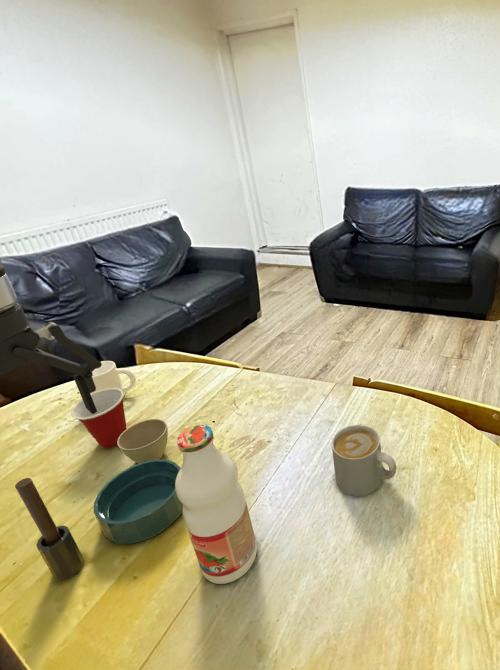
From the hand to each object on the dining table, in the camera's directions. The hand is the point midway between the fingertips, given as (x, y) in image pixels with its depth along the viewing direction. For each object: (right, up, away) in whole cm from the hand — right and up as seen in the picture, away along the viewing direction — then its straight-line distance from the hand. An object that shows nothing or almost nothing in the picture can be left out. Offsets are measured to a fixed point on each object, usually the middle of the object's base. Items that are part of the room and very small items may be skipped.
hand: (43, 433), depth 64 cm
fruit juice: (+26, -25, +9) cm, 37 cm away
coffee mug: (+49, -17, +23) cm, 57 cm away
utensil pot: (-2, -26, +8) cm, 28 cm away
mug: (-24, -7, +54) cm, 59 cm away
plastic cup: (-14, -14, +38) cm, 43 cm away
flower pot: (-1, -16, +32) cm, 36 cm away
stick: (-2, -26, +8) cm, 27 cm away
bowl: (+6, -21, +19) cm, 29 cm away
